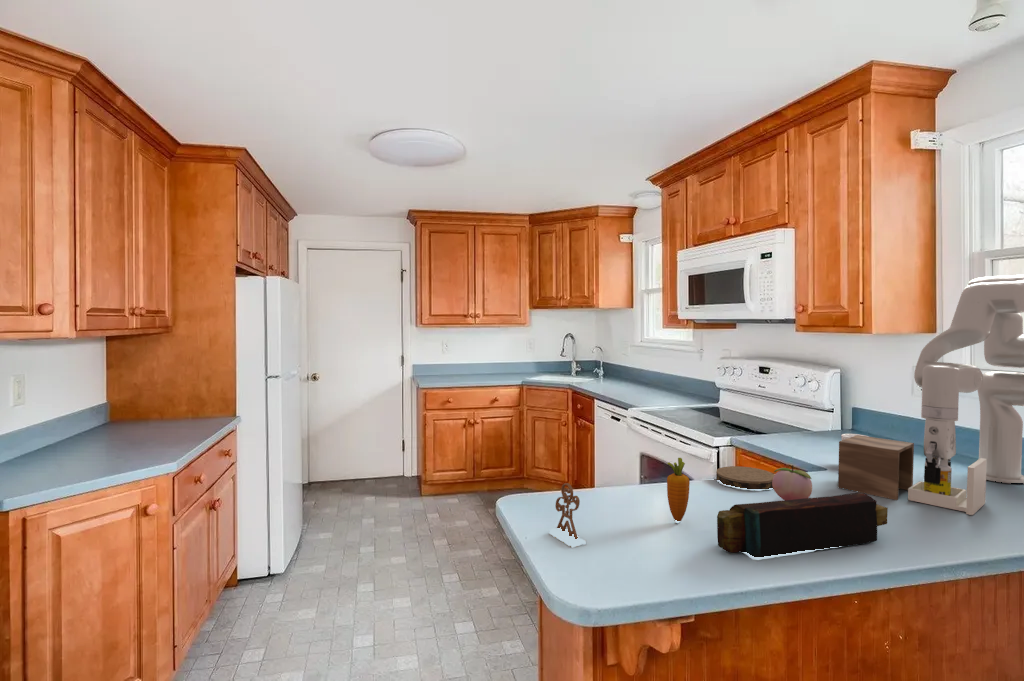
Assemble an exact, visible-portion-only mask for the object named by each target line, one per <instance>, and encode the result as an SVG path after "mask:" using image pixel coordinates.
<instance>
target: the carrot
mask: <svg viewBox="0 0 1024 681" xmlns="http://www.w3.org/2000/svg"><path fill="white" fill-rule="evenodd" d="M685 464H686V463H685V461H683V458H682V457H678V458H677V462H673V463H671V462H667V465H668V466H669V467H670V468H671V469H672V470H673V473H671V474H669V475H667V478H666V492H667V493H666V494H667V502H668V507H669V511H670V514H671V516H672V518H673V519H675V520H677V521H681V522H682V519H683V518H684V516H685V514H686V511H687V508H688V502H689V498H690V496H689V495H690V485H691V484H690V483H691V482H690V478H689V476H687V475H685V474H684V473H683V469H684V467H685ZM675 520H674V521H675Z"/></svg>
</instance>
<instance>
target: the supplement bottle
mask: <svg viewBox="0 0 1024 681" xmlns="http://www.w3.org/2000/svg"><path fill="white" fill-rule="evenodd" d="M936 461H937V460H936ZM939 468H941V477H940V484H935V483H930V482H925V481H924V480H923V482H924V491H927V492H932V493H937V494H942V495H947V496H951V487H952V466H951V467H950V466H948V460H944V458H941V461H940V466H939ZM923 470H924V471H923V474H925V468H924V469H923Z"/></svg>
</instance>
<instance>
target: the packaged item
mask: <svg viewBox="0 0 1024 681" xmlns="http://www.w3.org/2000/svg"><path fill="white" fill-rule="evenodd" d="M888 510H889V508H888V507H886V506H882V505H881V504H877V500H876V499H874V498H873V497H872V496H870V494H865V493H861V492H851V493H844V494H837V495H831V496H829V495H828V496H816V497H809V498H803V499H793V500H783V499H782V500H774V501H763V502H753V503H751V502H750V503H739V504H737V503H736V504H734V505H732V506H730V508H729V509H723V510H719V511H718V512H717V516H716V522H717V523H716V524H717V525H716V533H717V546H718V547H719V548H720V549H722V550H723V551H725V552H726V553H729V554H736V553H741V552H747V553H749V554H750V555H752V556H754V557H764V556H771V555H778V554H786V553H792V552H797V551H805V550H815V549H824V548H830V547H839V546H847V547H849V546H848V545H852V546H856V544H858V545H864V544H863V543H865V544H868V543H872V542H877V540H878V527H880V526H884V525H887V524H888V512H889V511H888Z"/></svg>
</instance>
